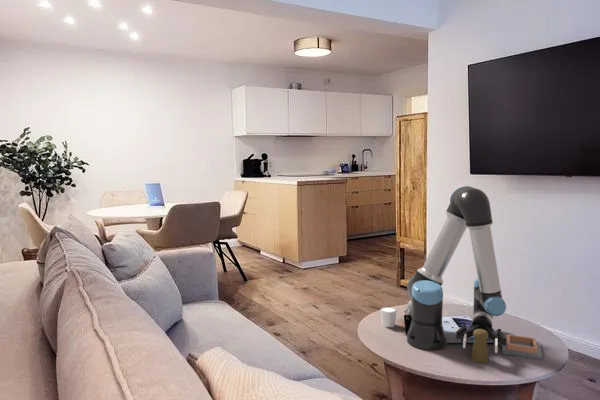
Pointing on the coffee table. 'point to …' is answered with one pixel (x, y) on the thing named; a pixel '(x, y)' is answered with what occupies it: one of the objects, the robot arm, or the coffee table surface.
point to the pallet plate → (522, 347)
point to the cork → (480, 346)
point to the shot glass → (388, 316)
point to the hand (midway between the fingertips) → (480, 346)
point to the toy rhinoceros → (408, 308)
